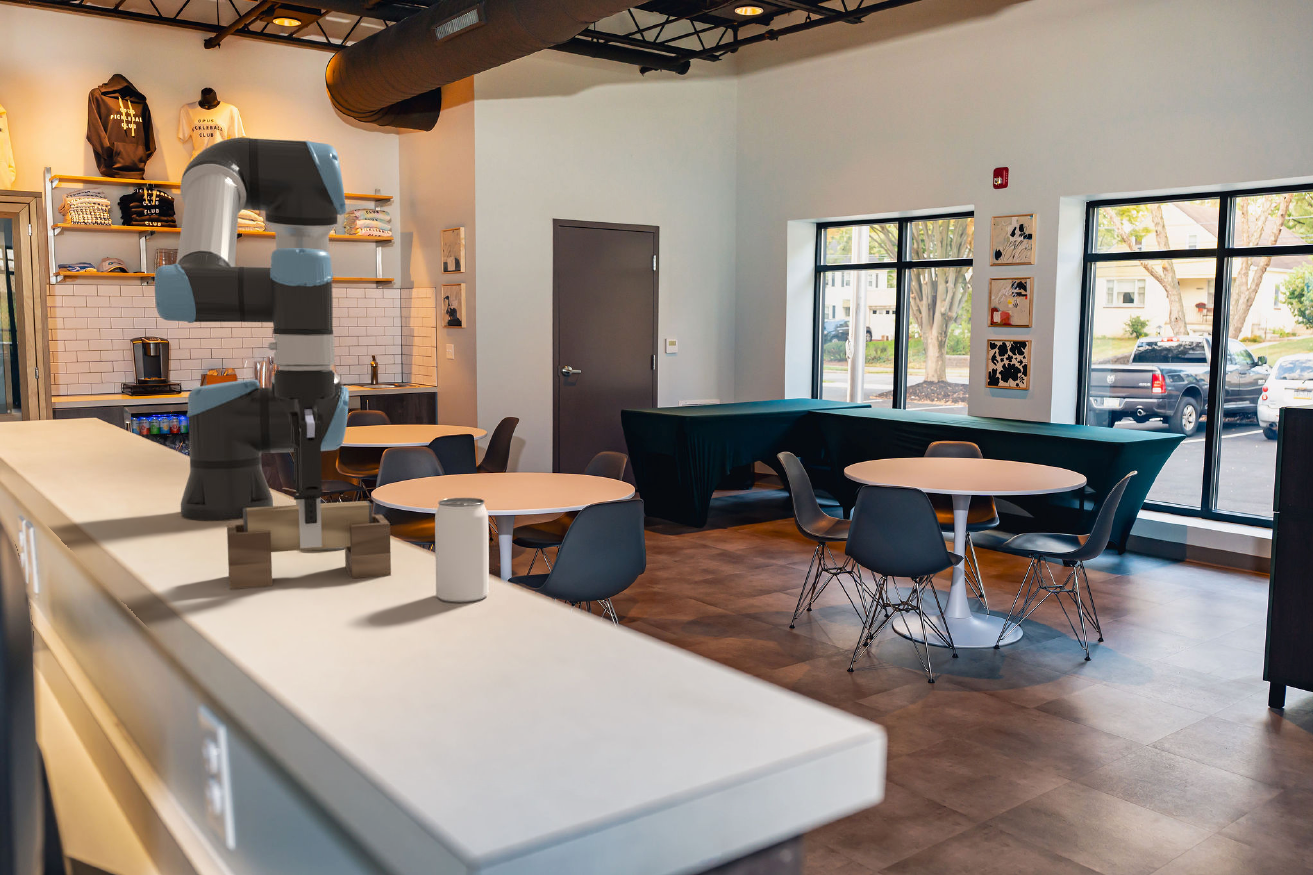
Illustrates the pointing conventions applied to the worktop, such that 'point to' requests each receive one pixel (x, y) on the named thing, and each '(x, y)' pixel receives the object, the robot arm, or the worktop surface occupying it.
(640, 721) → the worktop surface
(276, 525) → the rail
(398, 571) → the worktop surface
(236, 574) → the post
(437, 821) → the worktop surface
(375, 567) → the post
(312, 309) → the robot arm
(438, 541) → the can
